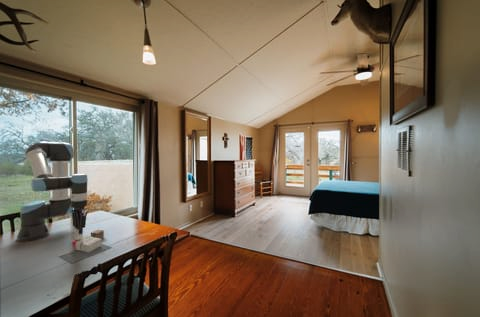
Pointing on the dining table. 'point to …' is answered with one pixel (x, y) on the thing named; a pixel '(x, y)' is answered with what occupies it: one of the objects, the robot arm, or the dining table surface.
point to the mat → (83, 254)
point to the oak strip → (68, 252)
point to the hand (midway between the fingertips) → (78, 238)
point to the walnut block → (98, 234)
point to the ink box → (86, 244)
